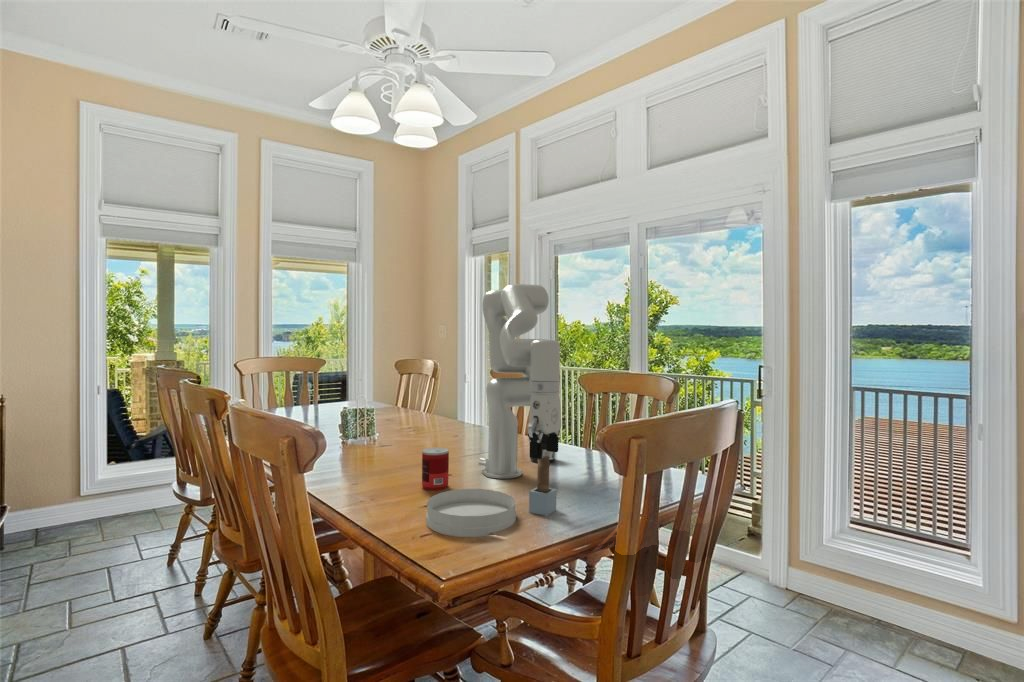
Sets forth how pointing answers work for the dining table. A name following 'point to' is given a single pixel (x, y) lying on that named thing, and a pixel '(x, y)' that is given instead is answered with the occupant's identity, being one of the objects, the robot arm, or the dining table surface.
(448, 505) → the dish
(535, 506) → the cup
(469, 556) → the dining table surface
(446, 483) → the canned food
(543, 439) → the ink bottle
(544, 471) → the dowel
